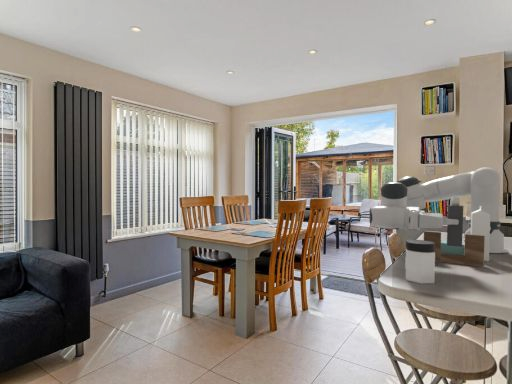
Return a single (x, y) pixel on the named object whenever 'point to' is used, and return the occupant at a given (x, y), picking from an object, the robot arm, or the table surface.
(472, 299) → the table surface
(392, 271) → the table surface
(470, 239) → the brown notched panel
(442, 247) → the teal block
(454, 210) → the grey capped bottle
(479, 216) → the milk
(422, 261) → the jar
